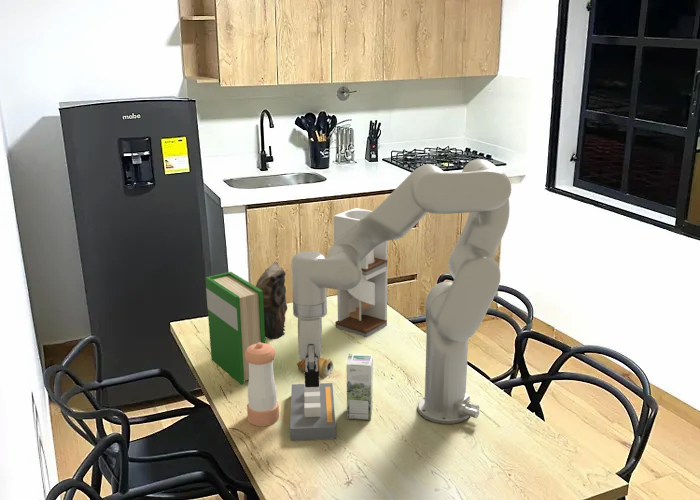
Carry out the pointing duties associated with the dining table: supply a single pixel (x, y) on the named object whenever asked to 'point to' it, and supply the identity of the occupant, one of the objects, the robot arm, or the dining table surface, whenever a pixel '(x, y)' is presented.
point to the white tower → (363, 285)
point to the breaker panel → (312, 425)
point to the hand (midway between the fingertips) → (311, 376)
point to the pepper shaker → (261, 385)
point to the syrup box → (359, 386)
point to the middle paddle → (312, 397)
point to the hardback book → (234, 322)
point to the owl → (273, 300)
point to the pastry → (319, 366)
